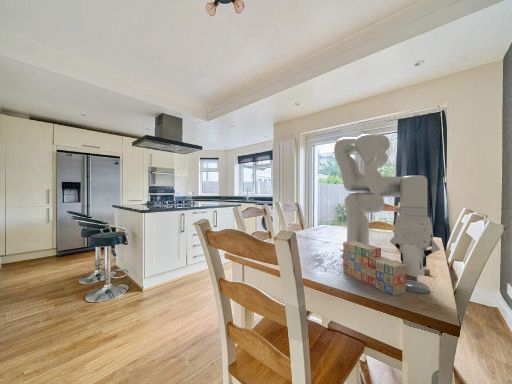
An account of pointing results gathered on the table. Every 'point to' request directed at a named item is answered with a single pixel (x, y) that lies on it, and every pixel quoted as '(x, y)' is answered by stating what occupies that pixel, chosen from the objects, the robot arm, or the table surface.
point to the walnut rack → (414, 277)
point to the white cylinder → (413, 259)
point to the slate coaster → (416, 287)
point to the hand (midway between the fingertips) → (413, 265)
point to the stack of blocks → (374, 267)
